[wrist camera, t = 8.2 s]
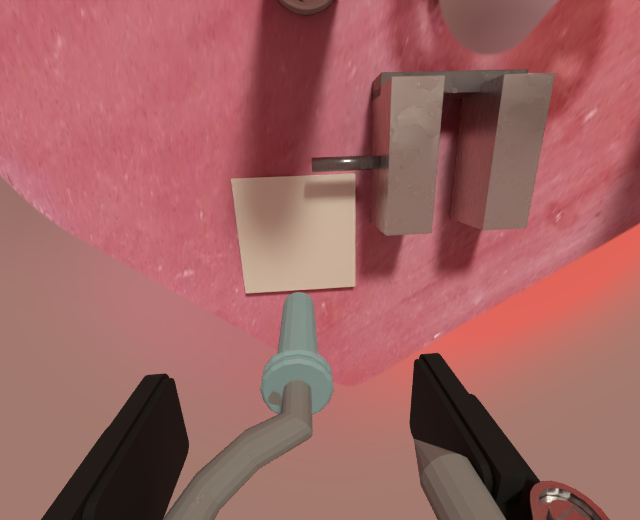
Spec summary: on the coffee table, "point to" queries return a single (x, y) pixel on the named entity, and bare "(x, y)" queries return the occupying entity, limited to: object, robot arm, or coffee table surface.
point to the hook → (296, 427)
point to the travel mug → (305, 6)
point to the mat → (296, 231)
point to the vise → (472, 147)
